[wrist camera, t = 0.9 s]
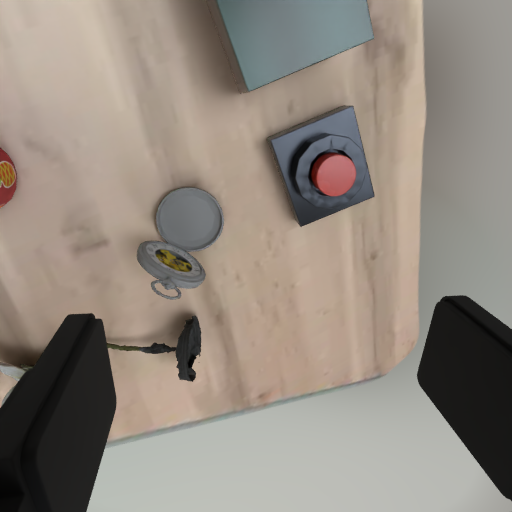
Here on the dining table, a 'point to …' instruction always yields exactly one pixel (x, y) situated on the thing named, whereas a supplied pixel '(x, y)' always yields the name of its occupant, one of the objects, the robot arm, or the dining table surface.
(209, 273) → the dining table surface
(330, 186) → the alarm button
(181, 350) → the artificial flower
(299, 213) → the base
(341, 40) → the green panel
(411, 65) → the dining table surface
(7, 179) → the smoothie
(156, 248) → the pocket watch
